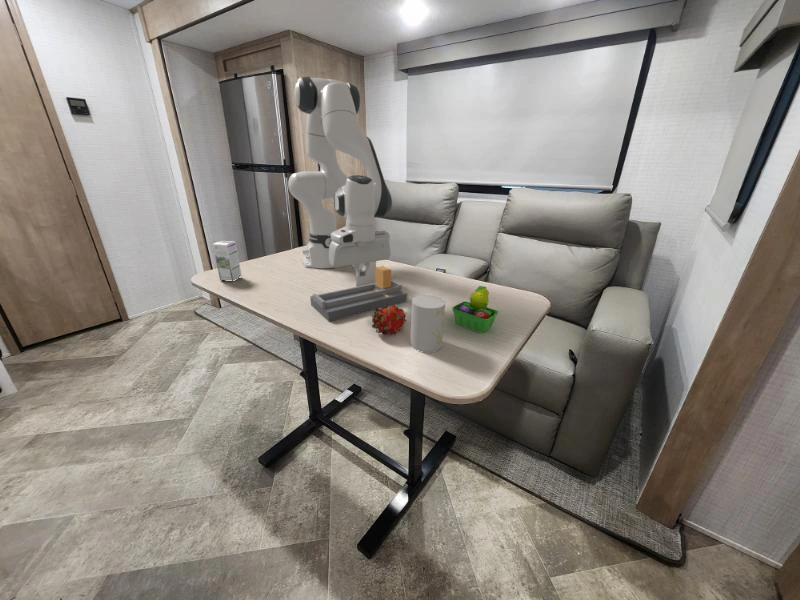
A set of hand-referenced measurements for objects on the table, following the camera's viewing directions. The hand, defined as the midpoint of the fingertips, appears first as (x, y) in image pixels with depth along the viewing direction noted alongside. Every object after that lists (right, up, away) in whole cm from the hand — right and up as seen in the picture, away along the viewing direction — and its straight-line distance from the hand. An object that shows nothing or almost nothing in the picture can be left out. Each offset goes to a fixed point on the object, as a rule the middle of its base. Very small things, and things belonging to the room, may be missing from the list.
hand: (361, 276), depth 104 cm
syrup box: (-53, 0, +21) cm, 56 cm away
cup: (+19, -19, -20) cm, 34 cm away
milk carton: (0, -2, +20) cm, 20 cm away
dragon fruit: (+10, -16, -14) cm, 24 cm away
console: (-1, -9, +3) cm, 9 cm away
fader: (+7, -4, +6) cm, 10 cm away
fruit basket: (+34, -15, -9) cm, 39 cm away
